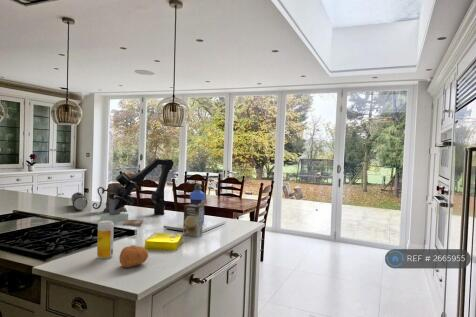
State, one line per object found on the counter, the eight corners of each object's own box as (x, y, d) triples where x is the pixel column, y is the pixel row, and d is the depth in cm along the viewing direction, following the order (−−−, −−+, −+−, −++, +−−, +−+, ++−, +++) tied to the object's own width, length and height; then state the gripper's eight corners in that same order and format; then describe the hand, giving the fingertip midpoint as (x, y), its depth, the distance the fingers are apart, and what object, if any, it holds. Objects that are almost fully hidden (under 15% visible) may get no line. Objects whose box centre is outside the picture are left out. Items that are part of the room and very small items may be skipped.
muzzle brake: (84, 204, 256) (84, 191, 255) (87, 211, 231) (88, 196, 231) (70, 205, 251) (71, 192, 251) (72, 212, 227) (73, 197, 226)
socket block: (116, 217, 212) (116, 211, 212) (128, 220, 206) (128, 213, 206) (100, 220, 202) (100, 214, 202) (112, 223, 196) (112, 216, 196)
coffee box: (182, 235, 175) (183, 205, 174) (187, 232, 181) (188, 203, 180) (197, 237, 172) (198, 206, 171) (202, 234, 178) (203, 205, 177)
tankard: (125, 208, 245) (125, 182, 245) (129, 212, 231) (130, 184, 230) (91, 210, 234) (91, 182, 233) (93, 214, 219) (94, 185, 219)
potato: (115, 264, 128) (115, 245, 128) (143, 259, 135) (143, 241, 135) (123, 271, 121) (123, 251, 121) (151, 265, 128) (152, 246, 128)
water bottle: (186, 224, 201) (187, 183, 200) (193, 221, 209) (195, 182, 209) (199, 225, 197) (200, 184, 197) (206, 222, 206) (208, 183, 205)
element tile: (153, 241, 163) (153, 231, 163) (182, 242, 163) (183, 233, 162) (143, 250, 148) (143, 239, 148) (176, 251, 148) (176, 241, 147)
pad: (142, 222, 202) (143, 219, 202) (140, 225, 192) (140, 223, 192) (126, 222, 200) (126, 219, 200) (123, 226, 191) (123, 223, 191)
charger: (115, 217, 207) (116, 198, 207) (119, 218, 205) (120, 199, 205) (109, 218, 203) (109, 199, 203) (113, 219, 201) (113, 200, 201)
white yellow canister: (100, 254, 139) (100, 219, 138) (114, 254, 139) (115, 220, 139) (94, 259, 132) (95, 223, 132) (110, 259, 133) (111, 223, 133)
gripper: (110, 180, 212) (95, 199, 202) (130, 183, 202) (115, 203, 193) (120, 191, 219) (106, 210, 209) (140, 194, 209) (125, 214, 200)
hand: (112, 209), depth 203 cm, fingers closed on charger, 4 cm apart
